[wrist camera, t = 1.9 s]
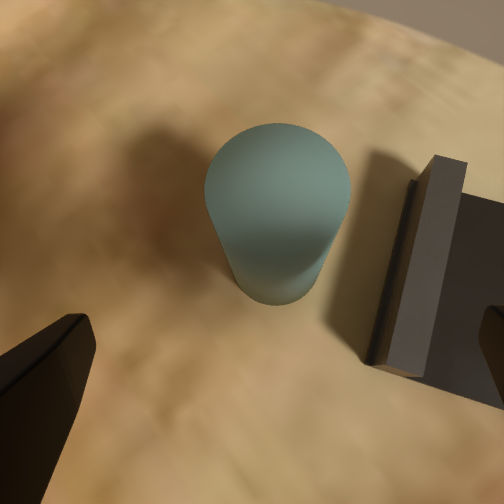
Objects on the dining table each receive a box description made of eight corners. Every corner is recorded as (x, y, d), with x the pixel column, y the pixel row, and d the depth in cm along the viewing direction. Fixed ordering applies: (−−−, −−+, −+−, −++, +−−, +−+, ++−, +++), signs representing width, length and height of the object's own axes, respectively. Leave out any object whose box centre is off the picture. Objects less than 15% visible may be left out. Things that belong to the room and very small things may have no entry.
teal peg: (260, 322, 20) (251, 285, 12) (216, 248, 22) (178, 166, 13) (336, 276, 21) (380, 208, 12) (289, 206, 22) (298, 100, 14)
